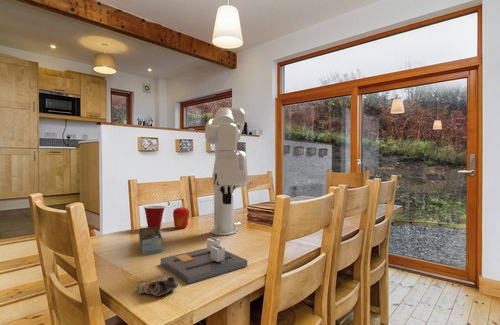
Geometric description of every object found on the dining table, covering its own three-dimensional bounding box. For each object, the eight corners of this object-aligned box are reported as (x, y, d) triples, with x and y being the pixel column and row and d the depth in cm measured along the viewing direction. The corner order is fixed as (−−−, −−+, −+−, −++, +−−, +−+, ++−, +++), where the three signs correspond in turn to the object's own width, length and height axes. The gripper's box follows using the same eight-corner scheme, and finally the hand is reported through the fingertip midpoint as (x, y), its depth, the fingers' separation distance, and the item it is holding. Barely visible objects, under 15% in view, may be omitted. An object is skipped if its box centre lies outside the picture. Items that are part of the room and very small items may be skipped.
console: (215, 251, 110) (215, 245, 110) (247, 266, 94) (247, 259, 94) (160, 264, 96) (160, 257, 96) (188, 284, 80) (188, 276, 80)
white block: (218, 256, 96) (218, 243, 96) (224, 259, 93) (224, 246, 93) (210, 258, 94) (210, 245, 94) (217, 261, 91) (217, 248, 91)
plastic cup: (169, 227, 149) (169, 204, 149) (158, 232, 139) (159, 207, 138) (150, 226, 151) (150, 203, 151) (138, 230, 141) (139, 207, 140)
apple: (191, 228, 146) (191, 206, 146) (175, 230, 142) (175, 207, 142) (186, 225, 154) (186, 203, 154) (171, 226, 150) (171, 204, 150)
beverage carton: (141, 255, 105) (141, 238, 105) (138, 242, 122) (138, 227, 122) (163, 252, 108) (163, 235, 108) (157, 240, 126) (157, 225, 126)
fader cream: (213, 247, 106) (213, 236, 106) (219, 250, 103) (219, 238, 103) (207, 249, 104) (207, 237, 104) (212, 252, 101) (212, 239, 101)
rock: (182, 288, 78) (156, 275, 83) (181, 271, 76) (155, 258, 81) (158, 310, 71) (131, 293, 75) (156, 291, 69) (129, 276, 74)
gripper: (236, 156, 115) (236, 201, 115) (205, 155, 105) (204, 204, 105) (248, 156, 109) (248, 203, 109) (215, 155, 99) (215, 207, 99)
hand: (226, 203), depth 107 cm, fingers closed
